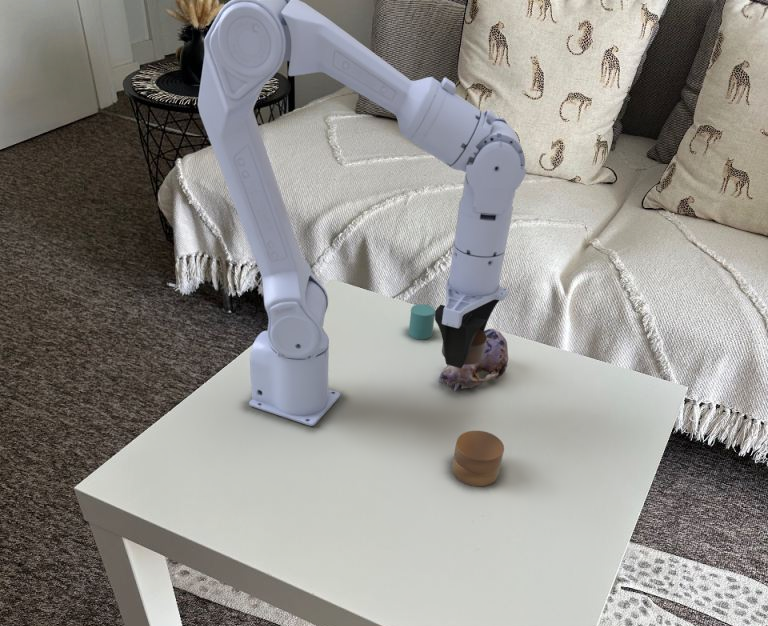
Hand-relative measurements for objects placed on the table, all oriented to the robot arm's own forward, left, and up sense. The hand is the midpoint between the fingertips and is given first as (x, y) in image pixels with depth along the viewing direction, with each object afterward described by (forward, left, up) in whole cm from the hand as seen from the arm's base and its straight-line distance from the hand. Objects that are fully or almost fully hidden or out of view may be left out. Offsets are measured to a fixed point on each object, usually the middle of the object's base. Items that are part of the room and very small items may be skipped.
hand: (462, 354), depth 87 cm
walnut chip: (0, 0, 0) cm, 0 cm away
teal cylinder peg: (-12, +17, -9) cm, 23 cm away
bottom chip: (+6, -10, -9) cm, 15 cm away
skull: (-1, +10, -9) cm, 14 cm away
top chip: (+6, -10, -7) cm, 14 cm away
